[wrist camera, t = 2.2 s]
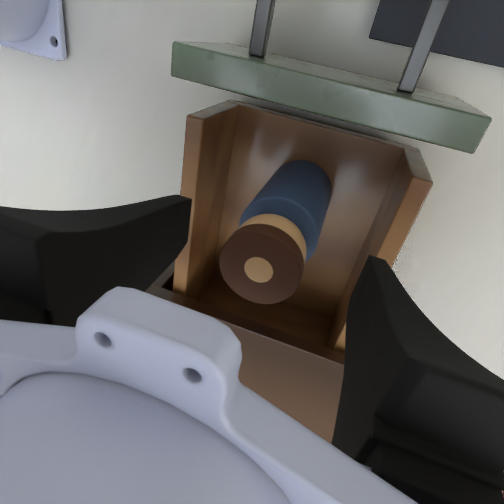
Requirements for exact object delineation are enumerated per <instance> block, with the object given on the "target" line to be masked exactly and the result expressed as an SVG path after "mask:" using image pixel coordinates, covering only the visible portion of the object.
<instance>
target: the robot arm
mask: <svg viewBox="0 0 504 504" xmlns="http://www.w3.org/2000/svg"><path fill="white" fill-rule="evenodd" d="M55 38H56V39H57V41H58V45H57V44H56V42H55ZM0 46H4V47H8V48H11V49H15V50H19V51H23V52H26V53H30V54H34V55H38V56H41V57H45V58H49V59H53V60H57V61H60V60H64V59H65V58H66V43H65V31H64V20H63V9H62V0H0ZM191 206H192V199H191V198H187V197H184V196H181V195H171V196H166V197H161V198H157V199H152V200H148V201H143V202H139V203H134V204H128V205H123V206H117V207H111V208H104V209H93V210H72V211H48V210H30V209H19V208H11V207H2V206H0V504H504V499H503V495H502V492H501V490H503V491H504V471H503V470H504V380H503V379H501V378H500V377H498V376H497V375H495V374H493V373H492V372H490V371H489V370H487V369H486V368H485V367H483V366H482V365H481V364H479V363H478V362H477V361H475V360H474V359H472V358H471V357H470V356H468V355H467V354H466V353H465V352H463V351H462V350H461V349H460V348H459V347H457V346H456V345H455V344H454V343H453V342H452V341H451V340H449V339H448V338H447V337H446V336H445V335H444V334H443V333H442V332H441V331H440V330H439V329H438V328H437V327H436V326H435V325H434V324H433V323H432V322H431V321H430V320H429V319H428V318H427V317H426V316H425V315H424V314H423V312H422V311H421V310H420V309H419V308H418V306H417V305H416V304H415V302H414V301H413V300H412V299H411V297H410V296H409V295H408V293H407V292H406V290H405V289H404V287H403V286H402V284H401V283H400V281H399V280H398V278H397V277H396V275H395V274H394V272H393V270H392V269H391V267H390V266H389V264H388V263H387V261H386V260H385V259H381V258H378V257H375V256H372V255H369V256H368V258H367V260H366V262H365V265H364V267H363V269H362V271H361V274H360V276H359V278H358V280H357V283H356V285H355V287H354V289H353V292H352V294H351V296H350V301H349V306H348V311H347V317H346V335H345V360H344V374H343V381H342V387H341V393H340V400H339V405H338V411H337V417H336V422H335V427H334V433H333V438H332V443H331V444H330V443H329V442H327V441H326V440H324V439H323V438H321V437H320V436H318V435H317V434H315V433H314V432H312V431H311V430H309V429H308V428H307V427H305V426H304V425H302V424H301V423H299V422H298V421H296V420H295V419H293V418H292V417H290V416H289V415H287V414H286V413H285V412H283V411H282V410H280V409H279V408H277V407H276V406H274V405H273V404H271V403H270V402H268V401H267V400H265V399H264V398H262V397H261V396H260V395H258V394H257V393H255V392H254V391H252V390H251V389H249V388H248V387H246V386H245V385H243V384H242V383H241V382H240V381H239V378H238V375H239V368H240V364H241V360H242V351H241V342H240V341H239V340H238V338H237V337H236V336H235V334H234V333H233V332H232V330H231V329H230V328H229V327H228V326H226V325H225V324H223V323H221V322H220V321H218V320H216V319H215V318H213V317H210V316H208V315H205V314H202V313H200V312H197V311H194V310H191V309H189V308H186V307H183V306H181V305H178V304H175V303H172V302H170V301H167V300H164V299H161V298H159V297H156V296H153V295H151V294H148V293H145V291H146V290H147V289H148V288H149V287H150V286H151V285H152V284H153V283H154V282H155V281H156V280H157V279H158V277H159V276H160V275H161V274H162V273H163V272H164V271H165V270H166V269H167V268H168V267H169V266H170V265H171V264H172V263H173V262H174V261H175V259H176V258H177V257H178V256H179V254H180V253H181V251H182V250H183V248H184V247H185V245H186V244H187V242H188V235H189V225H190V216H191Z"/></svg>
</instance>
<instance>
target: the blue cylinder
mask: <svg viewBox="0 0 504 504" xmlns="http://www.w3.org/2000/svg"><path fill="white" fill-rule="evenodd" d="M331 196H332V186H331V182H330V179H329V177H328V176H327V174H326V173H325V171H324V170H323V169H322V168H321V167H319V166H318V165H316V164H314V163H312V162H309V161H305V160H295V161H290V162H288V163H286V164H284V165H282V166H281V167H280V168H279V169H278V170H277V171H276V172H275V173H274V174H273V176H272V177H271V178H270V179H269V181H268V182H267V183H266V184H265V186H264V187H263V188H262V189H261V191H260V192H259V193H258V194H257V195H256V197H255V198H254V199H253V200H252V202H251V203H250V204H249V205H248V207H247V208H246V209H245V210H244V212H243V214H242V216H241V218H240V222H239V228H238V230H236V231H235V232H234V233H233V234H232V235H231V236H230V238H229V239H228V240H227V242H226V243H225V244H224V246H223V247H222V250H221V253H220V258H219V264H220V270H221V273H222V276H223V278H224V280H225V281H226V283H227V284H228V285H229V287H230V288H231V289H232V290H233V291H234V292H236V293H237V294H238V295H240V296H241V297H243V298H245V299H247V300H249V301H252V302H255V303H260V304H273V303H278V302H281V301H283V300H285V299H287V298H289V297H290V296H291V295H292V294H293V293H294V292H295V291H296V290H297V288H298V286H299V284H300V281H301V278H302V275H303V271H304V264H305V262H306V261H307V260H309V259H310V257H311V256H312V255H313V253H314V252H315V249H316V247H317V244H318V240H319V237H320V234H321V230H322V227H323V224H324V220H325V217H326V213H327V210H328V207H329V203H330V200H331Z"/></svg>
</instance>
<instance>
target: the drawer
mask: <svg viewBox="0 0 504 504" xmlns="http://www.w3.org/2000/svg"><path fill="white" fill-rule="evenodd" d="M275 1H276V0H257V3H256V9H255V15H254V22H253V28H252V34H251V41H250V47H249V48H246V47H241V46H237V45H233V44H229V43H207V42H180V41H174V42H173V46H172V64H171V76H173V77H176V78H180V79H184V80H188V81H192V82H196V83H200V84H203V85H207V86H211V87H215V88H219V89H223V90H227V91H231V92H234V93H238V94H242V95H246V96H250V97H254V98H258V99H261V100H265V101H269V102H273V103H277V104H281V105H285V106H289V107H292V108H296V109H300V110H304V111H308V112H312V113H316V114H320V115H323V116H327V117H331V118H335V119H339V120H343V121H347V122H351V123H354V124H358V125H362V126H366V127H370V128H374V129H378V130H382V131H385V132H389V133H393V134H397V135H401V136H405V137H409V138H413V139H416V140H420V141H424V142H428V143H432V144H436V145H440V146H444V147H447V148H451V149H455V150H459V151H463V152H467V153H471V154H472V153H474V152H475V150H476V149H477V147H478V145H479V143H480V141H481V139H482V137H483V136H484V134H485V132H486V130H487V128H488V126H489V124H490V123H491V121H492V118H491V117H489V116H487V115H486V114H484V113H482V112H480V111H479V110H477V109H475V108H474V107H472V106H470V105H469V104H467V103H465V102H464V101H462V100H460V99H459V98H457V97H453V96H449V95H445V94H440V93H436V92H432V91H428V90H423V89H419V88H416V85H417V83H418V80H419V78H420V75H421V73H422V70H423V68H424V65H425V63H426V60H427V58H428V55H429V53H430V50H431V48H432V46H433V43H434V41H435V38H436V36H437V33H438V31H439V28H440V26H441V23H442V21H443V18H444V16H445V13H446V11H447V9H448V6H449V4H450V1H451V0H430V1H429V4H428V6H427V9H426V12H425V14H424V17H423V20H422V22H421V25H420V28H419V30H418V33H417V36H416V38H415V41H414V44H413V46H412V49H411V51H410V54H409V57H408V59H407V62H406V65H405V67H404V70H403V73H402V75H401V78H400V81H399V83H394V82H390V81H385V80H381V79H377V78H373V77H368V76H364V75H360V74H356V73H351V72H347V71H343V70H339V69H335V68H330V67H326V66H322V65H318V64H313V63H309V62H305V61H301V60H296V59H292V58H288V57H284V56H280V55H275V54H271V53H267V52H266V51H267V45H268V40H269V34H270V29H271V23H272V18H273V12H274V7H275ZM295 160H305V161H309V162H312V163H314V164H316V165H318V166H319V167H321V168H322V169H323V170H324V171H325V173H326V174H327V176H328V177H329V179H330V182H331V186H332V196H331V200H330V203H329V207H328V210H327V213H326V217H325V220H324V224H323V227H322V230H321V234H320V237H319V240H318V244H317V247H316V249H315V252H314V253H313V255H312V256H311V257H310V259H309V260H307V261H306V262H305V264H304V271H303V275H302V278H301V281H300V284H299V286H298V288H297V290H296V291H295V292H294V293H293V294H292V295H291V296H290V297H289V298H287V299H285V300H283V301H281V302H278V303H273V304H260V303H255V302H252V301H249V300H247V299H245V298H243V297H241V296H240V295H238V294H237V293H236V292H234V291H233V290H232V289H231V288H230V287H229V285H228V284H227V283H226V281H225V280H224V278H223V276H222V273H221V270H220V264H219V258H220V253H221V250H222V247H223V246H224V244H225V243H226V242H227V240H228V239H229V238H230V236H231V235H232V234H233V233H234V232H235V231H236V230H238V228H239V222H240V218H241V216H242V214H243V212H244V210H245V209H246V208H247V207H248V205H249V204H250V203H251V202H252V200H253V199H254V198H255V197H256V195H257V194H258V193H259V192H260V191H261V189H262V188H263V187H264V186H265V184H266V183H267V182H268V181H269V179H270V178H271V177H272V176H273V174H274V173H275V172H276V171H277V170H278V169H279V168H280V167H281V166H282V165H284V164H286V163H288V162H290V161H295ZM432 185H433V181H432V179H431V176H430V174H429V172H428V169H427V167H426V165H425V162H424V160H423V158H422V156H421V153H420V151H419V149H418V148H414V147H410V146H406V145H402V144H398V143H395V142H391V141H387V140H383V139H379V138H376V137H372V136H368V135H364V134H360V133H356V132H353V131H349V130H345V129H341V128H337V127H334V126H330V125H326V124H322V123H318V122H314V121H311V120H307V119H303V118H299V117H295V116H292V115H288V114H284V113H280V112H276V111H272V110H269V109H265V108H261V107H257V106H253V105H250V104H246V103H242V102H238V101H234V100H228V101H226V102H223V103H220V104H217V105H215V106H212V107H209V108H206V109H203V110H200V111H198V112H195V113H192V114H189V115H187V120H186V132H185V144H184V157H183V169H182V182H181V194H180V195H181V196H184V197H187V198H191V199H192V206H191V216H190V225H189V235H188V242H187V244H186V245H185V247H184V248H183V250H182V251H181V253H180V254H179V256H178V257H177V258H176V259H175V268H174V281H173V292H175V293H178V294H181V295H183V296H186V297H189V298H192V299H194V300H197V301H200V302H203V303H206V304H208V305H211V306H214V307H217V308H219V309H222V310H225V311H228V312H231V313H233V314H236V315H239V316H242V317H244V318H247V319H250V320H253V321H256V322H258V323H261V324H264V325H267V326H269V327H272V328H275V329H278V330H281V331H283V332H286V333H289V334H292V335H294V336H297V337H300V338H303V339H306V340H308V341H311V342H314V343H317V344H319V345H322V346H325V347H328V348H330V349H333V350H336V351H339V352H342V353H344V354H345V335H346V317H347V311H348V306H349V301H350V296H351V294H352V292H353V289H354V287H355V285H356V283H357V280H358V278H359V276H360V274H361V271H362V269H363V267H364V265H365V262H366V260H367V258H368V256H369V255H372V256H375V257H378V258H381V259H385V260H386V261H387V263H388V264H389V266H390V267H392V265H393V263H394V261H395V259H396V257H397V255H398V253H399V251H400V249H401V247H402V245H403V243H404V241H405V239H406V237H407V235H408V233H409V231H410V229H411V227H412V225H413V223H414V221H415V219H416V217H417V215H418V213H419V211H420V209H421V207H422V205H423V203H424V201H425V199H426V197H427V195H428V193H429V191H430V189H431V187H432Z"/></svg>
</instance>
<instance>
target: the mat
mask: <svg viewBox="0 0 504 504" xmlns="http://www.w3.org/2000/svg"><path fill="white" fill-rule="evenodd" d="M429 1H430V0H380V4H379V7H378V10H377V13H376V16H375V19H374V23H373V26H372V29H371V32H370V35H369V38H371V39H375V40H380V41H385V42H389V43H394V44H398V45H403V46H407V47H412V46H413V44H414V41H415V38H416V36H417V33H418V30H419V28H420V25H421V22H422V20H423V17H424V14H425V12H426V9H427V6H428V4H429ZM430 52H435V53H439V54H444V55H448V56H453V57H457V58H462V59H467V60H471V61H476V62H480V63H485V64H489V65H494V66H498V67H503V68H504V0H451V1H450V4H449V6H448V9H447V11H446V13H445V16H444V18H443V21H442V23H441V26H440V28H439V31H438V33H437V36H436V38H435V41H434V43H433V46H432V48H431V50H430Z"/></svg>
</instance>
